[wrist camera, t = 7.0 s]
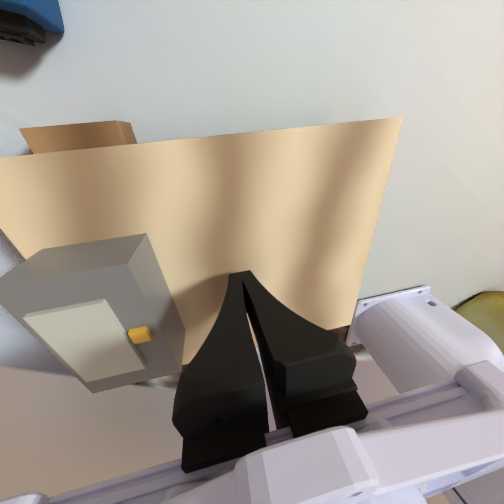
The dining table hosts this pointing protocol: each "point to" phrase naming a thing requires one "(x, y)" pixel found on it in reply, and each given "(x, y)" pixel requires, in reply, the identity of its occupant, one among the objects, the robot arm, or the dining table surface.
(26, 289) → the block
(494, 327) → the mug
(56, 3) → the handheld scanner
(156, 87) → the dining table surface
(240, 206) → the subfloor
